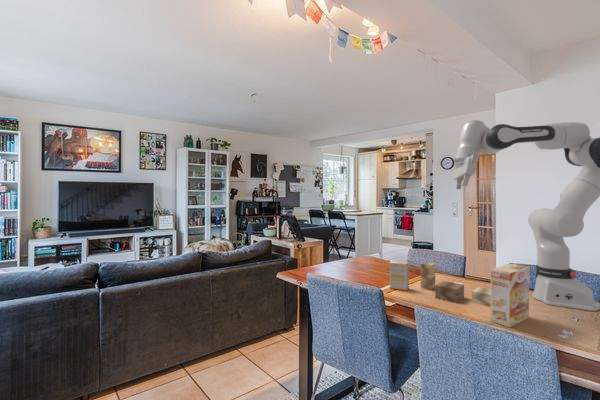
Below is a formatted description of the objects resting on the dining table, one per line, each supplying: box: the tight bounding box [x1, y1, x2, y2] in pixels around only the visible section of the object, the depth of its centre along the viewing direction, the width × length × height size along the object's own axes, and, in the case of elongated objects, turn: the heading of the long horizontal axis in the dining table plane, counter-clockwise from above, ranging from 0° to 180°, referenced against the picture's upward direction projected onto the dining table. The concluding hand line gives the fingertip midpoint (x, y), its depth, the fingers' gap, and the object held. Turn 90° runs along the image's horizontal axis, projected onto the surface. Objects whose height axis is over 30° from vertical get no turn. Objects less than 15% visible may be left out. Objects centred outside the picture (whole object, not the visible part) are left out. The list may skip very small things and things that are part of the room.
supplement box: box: [388, 260, 410, 292], centre depth 160 cm, size 8×5×13 cm, turn 58°
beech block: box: [471, 287, 491, 308], centre depth 139 cm, size 8×8×5 cm
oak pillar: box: [420, 261, 436, 291], centre depth 160 cm, size 5×5×12 cm
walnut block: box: [434, 280, 465, 304], centre depth 145 cm, size 9×9×6 cm
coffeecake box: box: [489, 263, 531, 328], centre depth 121 cm, size 15×7×20 cm, turn 123°
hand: (461, 187), depth 144 cm, fingers open, 8 cm apart
